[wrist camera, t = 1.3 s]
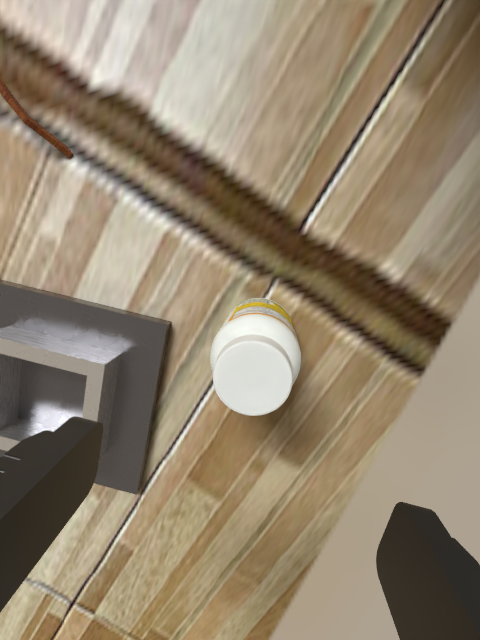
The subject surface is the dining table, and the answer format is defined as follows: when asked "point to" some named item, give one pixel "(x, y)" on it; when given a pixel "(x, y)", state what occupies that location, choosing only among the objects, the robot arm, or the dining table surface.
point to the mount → (80, 375)
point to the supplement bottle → (255, 357)
